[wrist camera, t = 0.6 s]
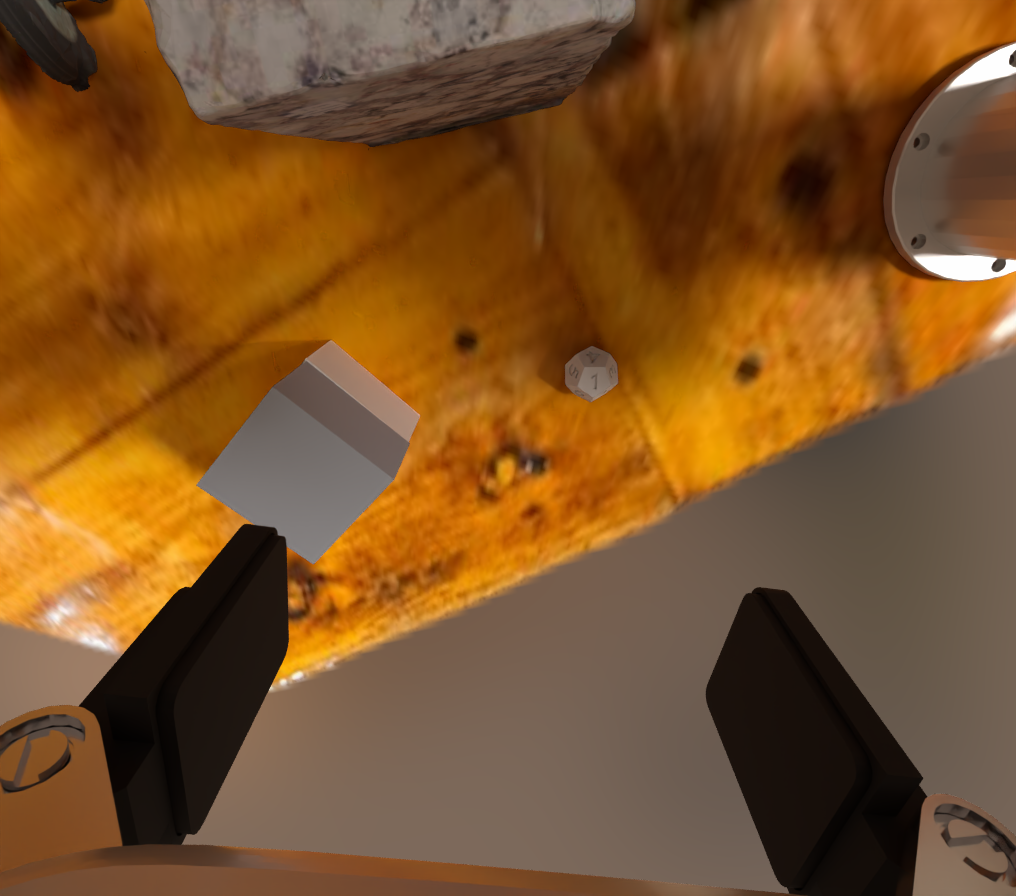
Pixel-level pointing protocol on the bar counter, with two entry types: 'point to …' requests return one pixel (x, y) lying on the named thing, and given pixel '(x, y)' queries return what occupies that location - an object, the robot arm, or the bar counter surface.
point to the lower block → (364, 388)
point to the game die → (591, 373)
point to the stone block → (379, 61)
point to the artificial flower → (51, 39)
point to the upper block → (306, 462)
